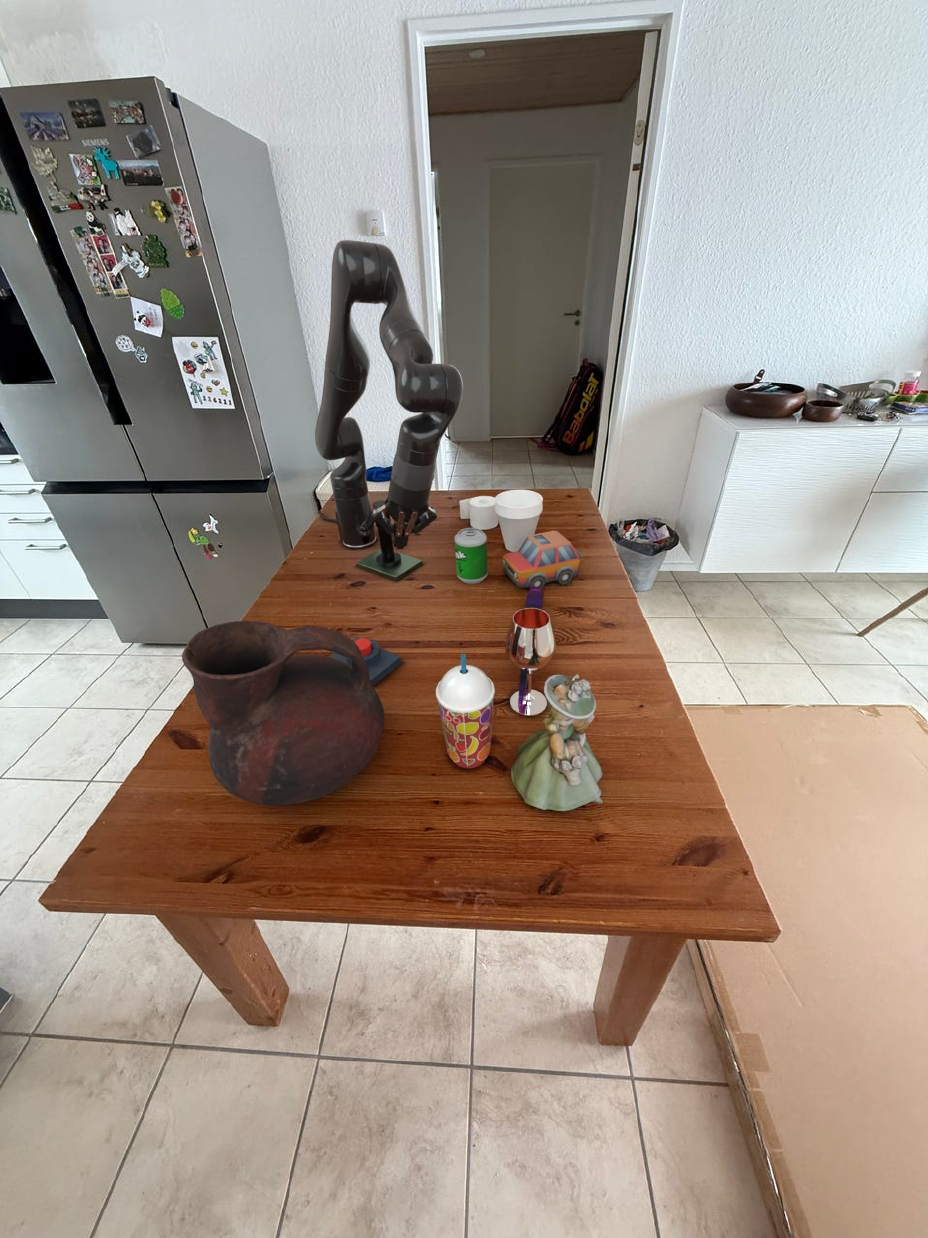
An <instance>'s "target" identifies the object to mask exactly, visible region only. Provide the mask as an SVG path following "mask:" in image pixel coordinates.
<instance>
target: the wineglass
mask: <svg viewBox="0 0 928 1238" xmlns="http://www.w3.org/2000/svg"><path fill="white" fill-rule="evenodd" d="M504 651H505V655H506V657H507V658H508V661H510V663H511V664H512V665H514V667H516V668H518V669H519V670H520V669H522V670H525V671H526V672H527V682H526V688H525V692H524V697H523V703H522V706H521V708H520V709H519V708H518V698H519V690H518V691H515V692H514V693H513V694H512V695H511V696H510V699H509V704H510V707H511V709H512V710H513V711H514V712H515V713H517V714H519V715H521V716H526V717H534V716H537V715H540V714H541V713H543V712H544V711H545V710H546V708H547V707H548V700H547V698H546V696H545V694H544V693H542V692H540V691H538V690H535V689H532V683H533V673H534V672H536V671H539V670H541V669H543V668H545V667H547V666H548V665H549V664H550V663H551V662H552V661H553V659H554V657H555V655H556V653H557V640H556V636H555V632H554V626H553V624H552V620H551V616H550V614H548V612H546V611H545V610H543V609H542V610H540V609H536V608H525V607H524V608H521V609H519V610H517V611H515V612H514V614H513V615H512V619H511V621H510V624H509V627H508V630H507V633H506V637H505V640H504Z"/></svg>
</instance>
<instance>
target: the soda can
mask: <svg viewBox="0 0 928 1238" xmlns="http://www.w3.org/2000/svg"><path fill="white" fill-rule="evenodd" d="M454 547H455V548H454V550H455V564H456V577H457V578H458V580H460V581H461V582H462V583H464V584H468V585H476V584H479V583H482V582H483V581H484V580H485V579H486V578H487V576H488V573H489V572H488V537H487V534H486V533H485V532H483V530H481V529H477V528H473V527H466V528H463V529H461V530H458V532H457V533H456V534H455V536H454Z"/></svg>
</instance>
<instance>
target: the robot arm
mask: <svg viewBox="0 0 928 1238" xmlns="http://www.w3.org/2000/svg"><path fill="white" fill-rule="evenodd" d="M400 269H401V268H400V266H399V264H398V260H397V258H396V257H395V254H394V253H393V251H392V250H391V248H389V247H388V246H387V245H384V244H382V243H377V242H369V241H361V240H351V239H343V240H342V239H341V240H340V241H338V242H337V243H336V245H335V247H334V250H333V254H332V260H331V278H330V279H331V280H330V281H331V282H330V283H331V284H330V285H331V286H330V316H329V317H330V318H329V328H328V329H329V330H328V338H327V346H326V353H325V354H326V355H325V360H324V369H323V370H324V372H323V384H322V385H323V387H322V394H321V400H320V401H321V402H320V407H319V411H318V415H317V419H316V425H315V430H314V440H315V441H314V442H315V446H316V450H317V452H318V453H319V456H320V457H322V459H324V460H325V461H336V460H337V461H338V460H341V459H343V461H342V463H341V464H340V465H339V466H337V467H336V468H335V469H333V470H332V471H331V472H330V475H329V478H330V479H329V480H330V485H331V490H332V494H333V499H334V504H335V508H336V509H335V510H334V514H335V518H330V517H326V516H324V514H323V512H322V510H319V511H318V512H317V514H318V515H319V516H320V517H321V518H322V519H323V520H325V521H330V522H336V524H337V529H338V533H339V538H340V542H341V543H342V544H343V546H344V547H346V548H347V549H353V550H354V549H355V550H356V549H357V550H359V549H364V548H368V547H371V546H372V545H374V544H375V543H376V542H377V535H376V529H375V527H376V524H375V523H374V524H373V526H372V527H371V528H370V530H369V533H370V538H371V541H370V543H369V544H364V543H363V542H362V539H361V534H360V526H361V525H362V524H363V522H364V521H365V520H366V519H367V517H368V516H369V515H370V514H371V512H372V511H373V514H374V517H375V519H376V521H377V522H378V523H379V524H380V525H381V526H382V527H383V529H384V530H385V531H386V532H387V533H388V534H389V535H391V534H392V541H393V548H395V550H405V548H406V547H407V546H408V542H409V537H410V536H411V535H412V534H414V535H418V534H419V533H421V532H422V531H423V530H424V529H425V528H427V527H428V526H430V525H431V524H432V523H433V522H434V521H435V520H437V518H438V515H437V512H436V509H435V507H434V506H430V504H429V499H430V495H431V490H432V486H433V482H434V479H435V473H436V465H437V459H438V458H437V457H438V453H439V448H440V445H441V440H442V438H443V437H444V435H445V433H446V431H447V430H448V427H449V426H450V424H451V422H452V420H453V419H454V417H455V415H456V413H457V411H458V410H459V407H460V405H461V402H462V399H463V394H464V382H463V378H462V374H461V373H460V371H459V369H457V367H455V365H452V364H449V363H433V361H434V350H433V347H432V345H431V343H430V341H429V339H428V337H427V336H426V333H425V332H424V330H423V328H422V326H421V325H420V323H419V321H418V320H417V318H416V316H415V313H414V310H413V308H412V304H411V301H410V297H409V295H408V291H407V287H406V284H405V281H404V279H403V275H402V273H401V270H400ZM354 304H371V305H381V304H383V305H384V306H385V309H384V310H383V313H382V315H381V317H380V321H379V326H378V327H379V328H378V329H379V330H378V333H379V334H378V335H379V339H380V343H381V345H382V348H383V350H384V352H385V354H386V355H387V358H388V360H389V362H390V363H391V367H392V371H393V378H394V386H395V387H394V391H395V392H394V393H395V398H396V400H397V402H398V404H399V405H400V407H402V408H403V409H404V410H405V411H407V412H409V413H415V415H412V416H409V417H407V418H405V419H404V420H403V421H402V422H401V424H400V427H399V432H398V438H397V443H396V445H397V446H396V451H395V455H394V457H393V461H392V466H391V474H390V480H389V486H388V493H387V497H386V499H384V501H385V502H384V505H383V506H381V507H380V508H378V507H373V506H371V505H372V504H371V499H370V491H369V488H368V481H367V463H366V454H365V446H364V438H363V433H362V430H361V427H360V424H359V422H358V421H357V419H355V418H354V417H352V416H347V415H348V414H349V412H350V411H351V410H352V409H353V408H354V406H356V405H357V403H358V402H359V401H360V399H361V398H362V396H363V395H364V394H365V391H366V388H367V384H368V381H369V376H370V371H371V357H370V353H369V351H368V349H367V346H366V344H365V342H364V340H363V339H362V336H361V335H360V333H359V331H358V329H357V327H356V324H355V321H354V320H353V315H352V311H353V305H354ZM386 512H388V513H389V515H390V518H391V519H392V520H393V523H392V521H391V522H390V521H389V520H388V519H387V517H386V516H387V515H386Z"/></svg>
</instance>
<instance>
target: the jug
mask: <svg viewBox="0 0 928 1238" xmlns="http://www.w3.org/2000/svg"><path fill="white" fill-rule="evenodd" d="M320 650H321V651H322V650H323V651H328V652H332V653H337V654H340V655H342V656H345V657H348V658H350V659H351V660H352V667H351V666H350V665H348V664H346V663H344V662H342V661H340V660H337V659H335V658H332V657H329V656H327V655H323V654H308V653H307V654H306V653H303V654H302V653H301V654H295V653H298V652H302V651H320ZM181 660H182V663H183V665H184V667H185V669H187V671H188V672H189V673H190V675H191V678H192V681H193V691H194V696H195V700H196V703H197V706H198V709H199V710H200V712H201V714H202V716H203V718H204V720H205V721H206V723H207V724H208V726H209V727H210V730H209V733H208V743H207V744H208V745H207V746H208V748H207V749H208V750H207V751H208V759H209V764H210V769H211V771H212V773H213V776H214V777H215V780H216V781H217V782H218V783H219V785H221V786H222V787H223V788H224V789H225V790H226V791H227V793H228V792H229V794H231V795H232V796H234V797H236V798H238V799H241V800H244V801H247V802H249V803H253V804H258V805H263V806H269V807H279V806H289V805H290V806H291V805H298V804H301V803H306V802H311V801H314V800H318V799H321V798H324V797H325V796H328V795H330V794H332V793H333V792H336V791H338V790H339V789H341V788H343V787H345V786H346V785H347V784H348V783H350V782H351V781H352V780H353V779H355V778H356V777H357V776H358V775H359V774H361V772H362V771H363V770H364V769H365V767H366V766H367V765H368V764H369V762H370V761H371V759H372V758H374V755H375V754H376V752H377V750H378V748H379V746H380V744H381V742H382V741H381V740H382V737H383V733H384V728H385V710H384V706H383V703H382V701H381V699H380V696H379V694H378V692H377V691H376V689H375V688H374V686H373V687H372V685H371V684H370V683H369V677H370V674H369V670H368V666H367V664H366V662H365V660H364V659H363V657H362V655H361V652H360V649H359V647H358V646H357V645H356V643H355V642H354V641H353V639H351V638H350V637H349V636H348V635H346V634H343V633H341V632H339V631H338V630H335V629H332V628H327V627H325V626H319V625H305V626H304V625H303V626H297V627H294V628H293V627H292V628H288V629H287V628H284V627H282V626H278V625H277V624H276V625H275V624H274V623H270V622H266V621H256V620H253V621H250V620H241V621H240V620H239V621H238V620H236V621H229V622H223V623H217V624H215V625H212V626H210V627H207V628H203V629H202V630H200V631H198V632H197V633H196V634H195V635H193V637H191V639H190V640H189V641H188V642H187V644H186V645H185V647H184V649H183V651H182V653H181Z"/></svg>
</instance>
